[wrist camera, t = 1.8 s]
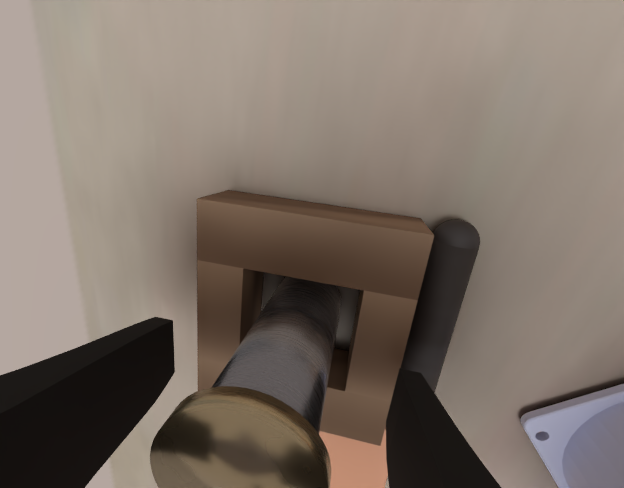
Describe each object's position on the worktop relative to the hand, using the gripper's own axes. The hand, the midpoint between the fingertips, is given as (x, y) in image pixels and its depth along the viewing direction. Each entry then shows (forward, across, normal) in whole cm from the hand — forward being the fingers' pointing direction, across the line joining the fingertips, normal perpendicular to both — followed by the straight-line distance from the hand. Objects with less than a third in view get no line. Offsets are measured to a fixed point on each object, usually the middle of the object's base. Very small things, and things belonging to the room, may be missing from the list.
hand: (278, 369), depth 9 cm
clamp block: (+5, 0, 0) cm, 5 cm away
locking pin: (+5, 0, 0) cm, 5 cm away
